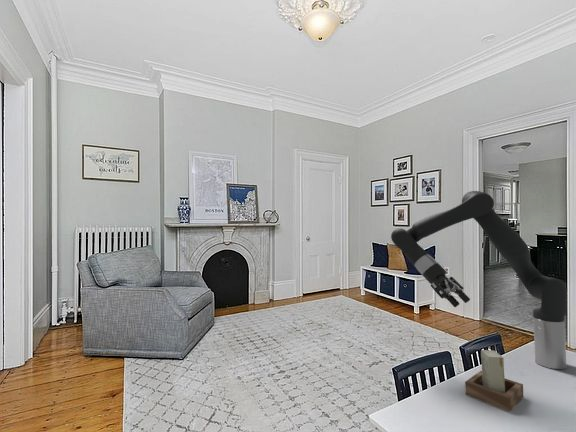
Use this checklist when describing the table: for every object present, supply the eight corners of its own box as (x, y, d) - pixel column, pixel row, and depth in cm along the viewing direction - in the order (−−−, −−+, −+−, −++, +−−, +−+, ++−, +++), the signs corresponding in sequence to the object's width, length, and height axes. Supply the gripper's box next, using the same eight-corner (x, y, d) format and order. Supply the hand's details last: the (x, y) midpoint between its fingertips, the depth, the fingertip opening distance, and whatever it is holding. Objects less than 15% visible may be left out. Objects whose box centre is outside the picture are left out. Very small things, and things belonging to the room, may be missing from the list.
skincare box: (506, 398, 95) (504, 358, 96) (490, 397, 96) (488, 357, 96) (496, 388, 101) (495, 349, 102) (481, 387, 102) (480, 349, 103)
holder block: (481, 382, 107) (480, 370, 107) (523, 397, 97) (522, 384, 97) (465, 394, 99) (465, 381, 100) (509, 411, 90) (509, 397, 90)
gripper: (426, 264, 115) (461, 300, 105) (445, 260, 124) (478, 293, 114) (414, 277, 119) (446, 313, 109) (432, 272, 128) (464, 306, 118)
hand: (462, 303), depth 112 cm, fingers open, 8 cm apart
